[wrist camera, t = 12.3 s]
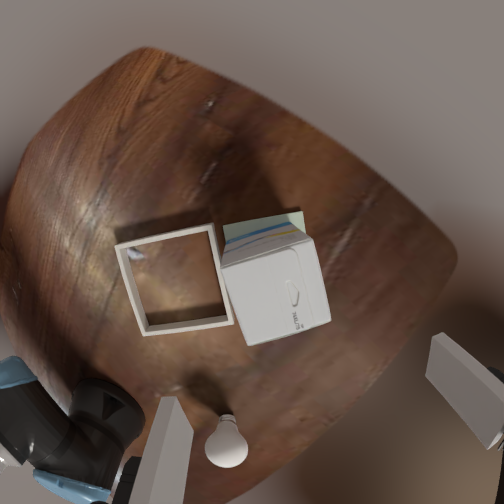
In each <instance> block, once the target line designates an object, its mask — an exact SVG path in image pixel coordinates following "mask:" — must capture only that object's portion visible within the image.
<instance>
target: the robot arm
mask: <svg viewBox="0 0 504 504" xmlns="http://www.w3.org/2000/svg"><path fill="white" fill-rule="evenodd" d="M425 376H426V377H427V378H428V380H429V381H430V382H431V383H432V384H433V385H434V386H435V388H436V389H437V390H438V391H439V392H440V393H441V394H442V396H443V397H444V398H445V399H446V400H447V401H448V403H449V404H450V405H451V406H452V407H453V408H454V410H455V411H456V412H457V413H458V414H459V415H460V417H461V418H462V419H463V420H464V421H465V423H466V424H467V425H468V426H469V427H470V429H471V430H472V431H473V433H474V434H475V435H476V436H477V438H478V439H479V440H480V441H481V443H482V444H483V445H484V446H485V448H486V449H487V450H488V449H489V448H490V447H492V446H493V445H494V444H495V443H497V442H498V441H499V439H500V437H501V436H502V434H503V433H504V374H503V373H502V372H500V371H499V370H498V369H495V368H492V367H489V368H487V369H486V368H485V367H484V366H483V365H482V364H480V363H479V362H478V361H477V360H476V359H475V358H473V357H472V356H471V355H470V354H469V353H467V352H466V351H465V350H464V349H463V348H461V347H460V346H459V345H458V344H457V343H455V342H454V341H453V340H452V339H450V338H449V337H448V336H447V335H445V334H444V333H443V332H442V333H440V334H438V335H435V336H433V337H432V341H431V348H430V354H429V360H428V365H427V370H426V375H425ZM144 425H145V416H144V413H143V411H142V409H141V407H140V406H139V405H138V403H137V402H136V401H135V400H134V399H133V398H132V397H131V396H130V395H128V394H127V393H126V392H124V391H123V390H122V389H120V388H118V387H117V386H115V385H113V384H111V383H108V382H106V381H103V380H99V379H85V380H82V381H81V382H79V384H78V385H77V386H76V388H75V389H74V391H73V393H72V402H71V405H70V409H69V414H68V416H67V415H66V414H65V412H64V411H63V410H62V409H61V408H60V407H59V406H58V404H57V403H56V402H55V401H54V400H53V399H52V397H51V396H50V395H49V394H48V392H47V391H46V390H45V389H44V387H43V386H42V385H41V383H40V382H39V381H38V378H37V376H35V375H34V374H33V373H32V371H31V370H30V369H29V368H28V366H27V365H26V364H25V362H24V361H23V360H22V359H21V358H20V357H17V356H10V357H7V358H5V359H3V360H1V361H0V474H1V473H2V471H3V470H4V469H5V468H6V466H9V465H10V466H17V467H21V466H22V465H23V463H24V462H25V461H26V460H27V461H29V462H30V463H31V464H32V465H33V466H34V467H35V469H34V470H33V477H34V478H35V479H36V480H37V482H38V483H40V484H41V485H42V486H44V487H45V488H46V489H48V490H50V491H51V492H53V493H55V494H56V495H58V496H60V497H62V498H64V499H66V500H68V501H71V502H73V503H75V504H108V503H106V500H107V498H108V496H109V494H111V488H112V485H113V482H114V480H115V477H116V474H117V471H118V468H119V465H120V462H121V459H122V457H123V454H124V451H125V450H126V449H127V448H128V447H129V445H130V444H131V443H132V442H133V440H134V439H136V438H138V437H139V436H140V434H141V433H142V431H143V428H144ZM193 432H194V431H193V429H192V427H191V426H190V424H189V422H188V420H187V418H186V416H185V414H184V412H183V410H182V408H181V406H180V404H179V402H178V399H177V397H176V396H174V397H162V398H161V401H160V404H159V407H158V409H157V412H156V415H155V419H154V422H153V425H152V428H151V431H150V434H149V437H148V440H147V443H146V446H145V450H144V453H143V456H142V457H135V456H132V457H131V458H130V459H129V460H128V461H127V462H126V463H125V465H124V468H123V471H122V475H121V477H120V482H119V483H118V486H117V489H116V492H115V495H114V498H113V501H112V504H183V497H184V490H185V483H186V476H187V470H188V463H189V457H190V450H191V444H192V438H193ZM502 446H503V449H502V450H503V457H502V465H501V473H500V480H499V486H498V491H497V496H496V501H495V504H504V439H503V441H502V443H501V444H500V446H499V447H498V450H500V449H501V447H502Z"/></svg>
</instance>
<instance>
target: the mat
mask: <svg viewBox="0 0 504 504" xmlns="http://www.w3.org/2000/svg"><path fill="white" fill-rule="evenodd" d="M285 222H291V223H292V224H293V225H295V226H296V227H297V228H299V229H300V230H301V231H302V232H304V233H305V234H306V231H305V225H304V218H303V212H302V211H299V212H293V213H287V214H281V215H276V216H270V217H265V218H259V219H254V220H248V221H243V222H238V223H233V224H228V225H223V230H224V235H225V240H226V242H227V241H228V240H230V239H233V238H236V237H239V236H242V235H245V234H248V233H251V232H254V231H257V230H261V229H264V228H268V227H271V226H275V225H278V224H282V223H285Z"/></svg>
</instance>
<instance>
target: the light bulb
mask: <svg viewBox="0 0 504 504" xmlns="http://www.w3.org/2000/svg"><path fill="white" fill-rule="evenodd" d="M205 452H206V455H207V457H208V459H209V460H210V461H211V462H212V463H214V464H215V465H217V466H220V467H226V468H227V467H234V466H237V465H239V464H240V463H241V462H243V461H244V459H245V458H246V456H247V453H248V446H247V443H246V441H245V439H244V438H243V437H242V436H241V435H240V433H239V432H238V429H237V426H236V419H235V416H233V415H230V414H224V415H222V416H220V418H219V424H218V426H217V429H216V431H215V432H214V433H213V434H212V435H210V436H209V438H208V439H207V441H206V444H205Z"/></svg>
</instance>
